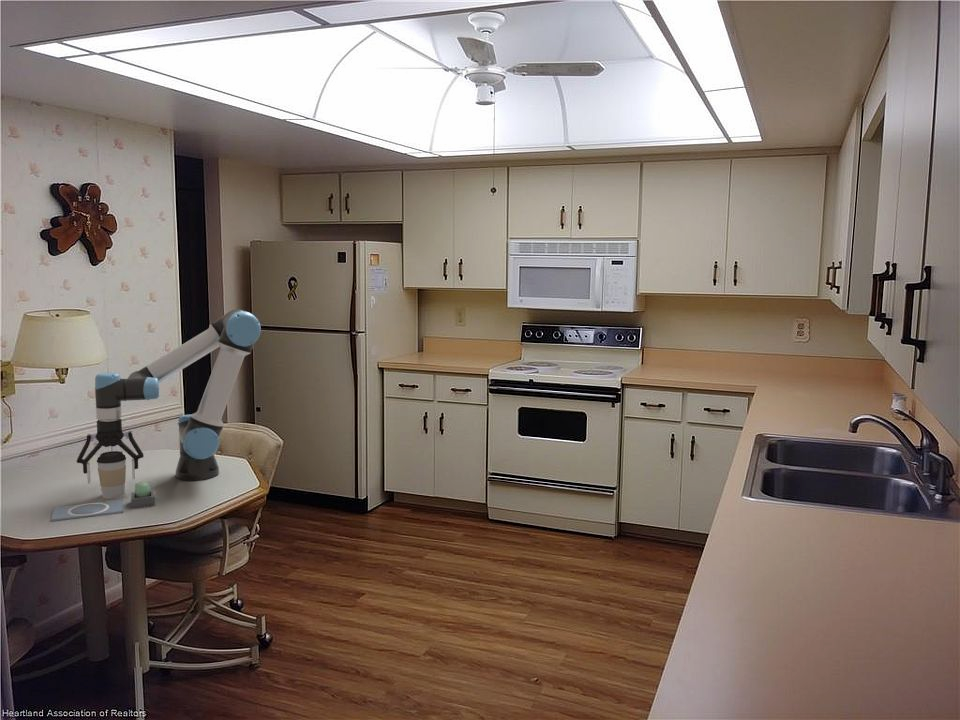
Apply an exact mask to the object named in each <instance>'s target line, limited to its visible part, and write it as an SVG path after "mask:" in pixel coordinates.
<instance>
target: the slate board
mask: <svg viewBox="0 0 960 720" xmlns="http://www.w3.org/2000/svg"><path fill="white" fill-rule="evenodd" d="M123 513H124V499H118V500H117V499H116V500H109V501H108V500H107V501H101V502H100V501H99V502H90V503H82V504H73V505H72V504H71V505H64V506H56V507H54V508H53V512H52V515H51V518H50V522H57V521H65V520H74V519H81V518H82V519H83V518H91V517H100V516H108V515H114V514H123Z"/></svg>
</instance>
